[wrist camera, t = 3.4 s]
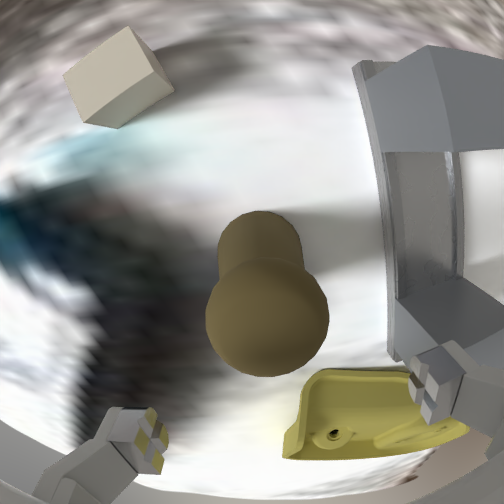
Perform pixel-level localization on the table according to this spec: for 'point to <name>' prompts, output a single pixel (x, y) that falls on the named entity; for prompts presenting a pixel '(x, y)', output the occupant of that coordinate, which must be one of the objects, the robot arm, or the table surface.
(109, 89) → the beige block
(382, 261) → the table surface
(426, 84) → the block
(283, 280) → the cork
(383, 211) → the rail
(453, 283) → the block
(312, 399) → the plastic component
